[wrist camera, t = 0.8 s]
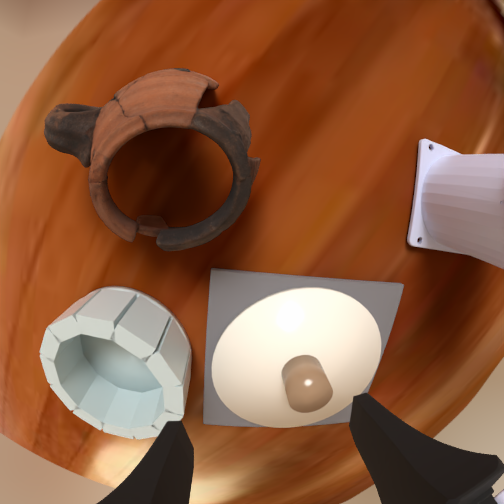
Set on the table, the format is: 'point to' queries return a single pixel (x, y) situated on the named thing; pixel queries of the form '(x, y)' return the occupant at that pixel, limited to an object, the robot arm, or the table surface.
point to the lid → (296, 357)
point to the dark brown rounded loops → (148, 118)
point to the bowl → (119, 362)
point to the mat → (263, 284)
